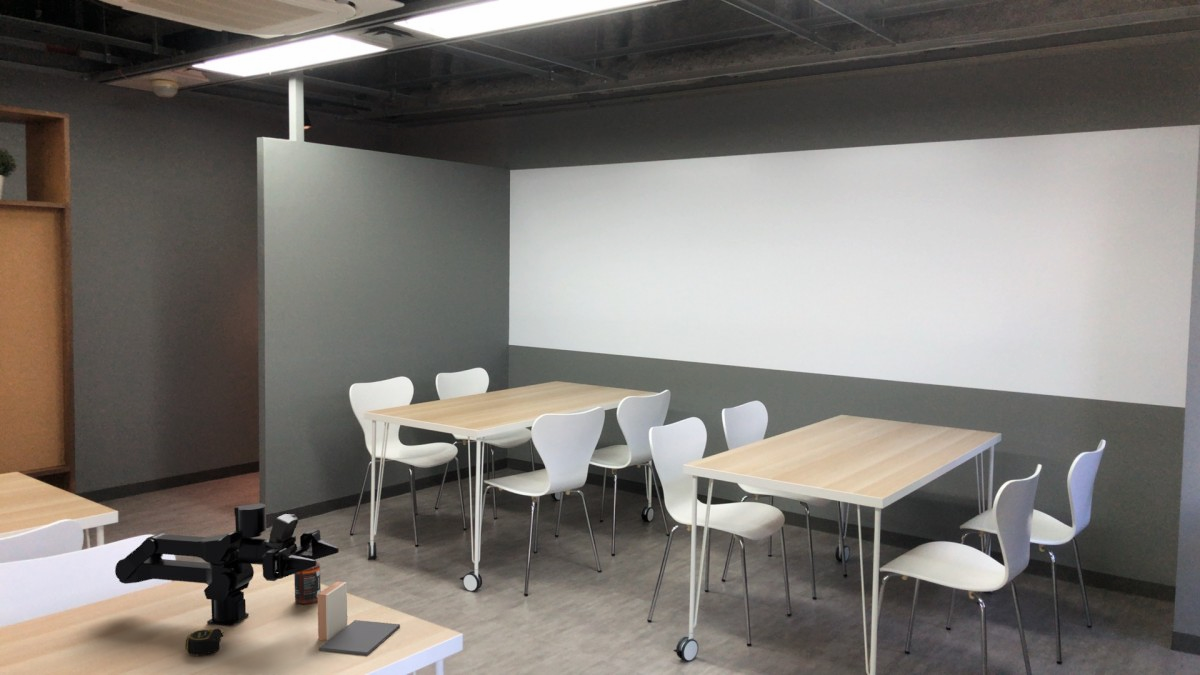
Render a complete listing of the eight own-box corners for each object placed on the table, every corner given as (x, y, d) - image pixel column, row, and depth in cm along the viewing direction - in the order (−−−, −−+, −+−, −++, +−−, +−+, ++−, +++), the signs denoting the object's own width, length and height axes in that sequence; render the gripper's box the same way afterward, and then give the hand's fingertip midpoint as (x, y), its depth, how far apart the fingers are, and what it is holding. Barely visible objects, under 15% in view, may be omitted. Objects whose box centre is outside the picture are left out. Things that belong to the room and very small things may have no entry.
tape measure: (219, 656, 175) (219, 638, 175) (183, 660, 173) (182, 642, 173) (223, 643, 181) (223, 626, 181) (188, 647, 179) (188, 629, 179)
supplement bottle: (326, 599, 206) (325, 553, 206) (304, 606, 202) (303, 560, 201) (310, 594, 210) (310, 549, 209) (289, 601, 205) (288, 555, 204)
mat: (319, 650, 177) (319, 647, 177) (355, 622, 192) (355, 620, 192) (367, 655, 175) (367, 652, 175) (399, 626, 190) (399, 624, 190)
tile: (318, 639, 183) (317, 594, 182) (337, 625, 191) (336, 581, 190) (328, 640, 182) (327, 594, 182) (347, 625, 190) (346, 582, 190)
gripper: (237, 527, 181) (303, 532, 177) (287, 505, 199) (348, 509, 196) (238, 579, 181) (304, 584, 178) (288, 552, 200) (349, 557, 196)
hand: (327, 556), depth 187 cm, fingers open, 9 cm apart
